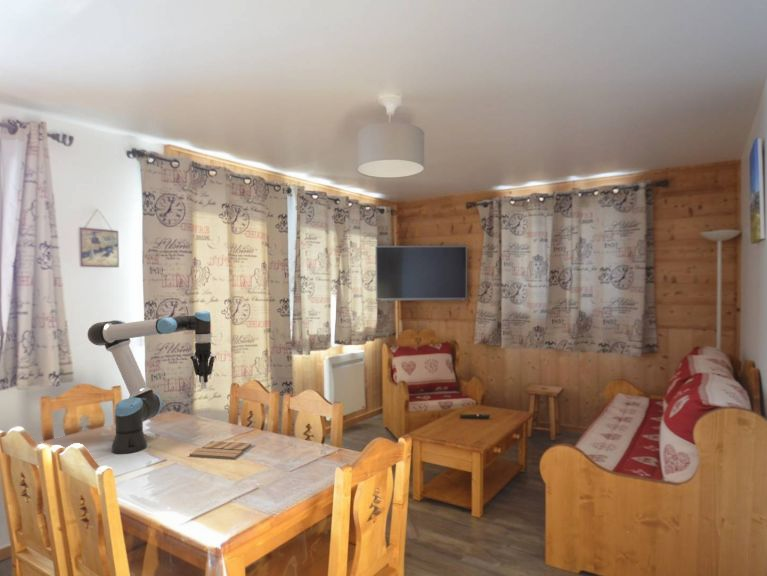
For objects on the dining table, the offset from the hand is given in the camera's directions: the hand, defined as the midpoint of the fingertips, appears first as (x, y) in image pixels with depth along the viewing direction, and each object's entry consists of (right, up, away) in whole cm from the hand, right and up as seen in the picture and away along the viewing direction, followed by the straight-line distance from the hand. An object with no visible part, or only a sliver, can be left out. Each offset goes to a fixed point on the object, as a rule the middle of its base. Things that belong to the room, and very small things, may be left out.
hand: (203, 388), depth 244 cm
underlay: (+15, -26, -18) cm, 35 cm away
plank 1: (+11, -25, -13) cm, 30 cm away
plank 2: (+21, -25, -15) cm, 36 cm away
